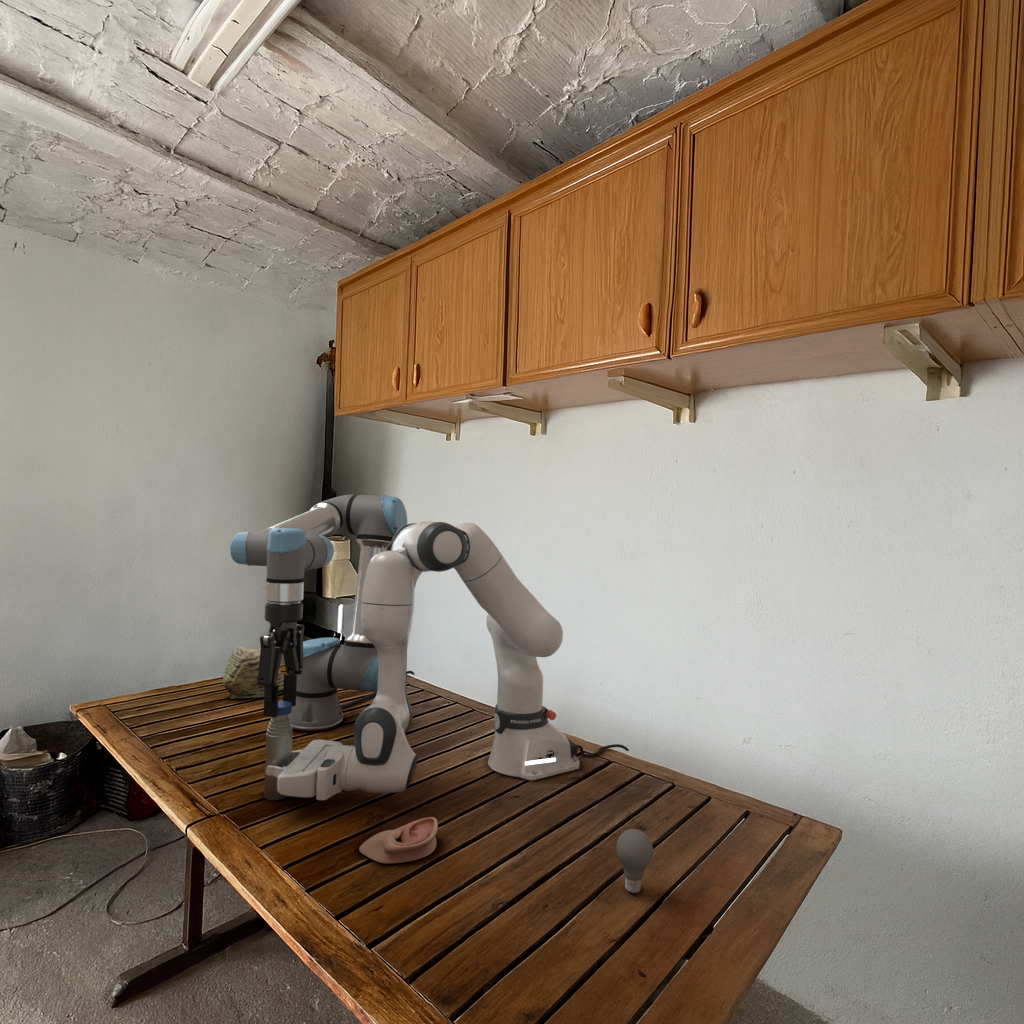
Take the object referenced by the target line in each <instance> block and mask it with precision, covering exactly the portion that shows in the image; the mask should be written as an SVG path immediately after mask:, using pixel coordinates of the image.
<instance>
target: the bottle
mask: <svg viewBox="0 0 1024 1024" xmlns="http://www.w3.org/2000/svg"><path fill="white" fill-rule="evenodd" d="M293 732H294V730H292V727H291V723H290V720H289V717H288V715H284V716H277V717H270V721H269V724H268V725H267V729H266V733H265V734H266V736H265V759H264V761H265V762H264V763H265V764H264V785H263V789H264V790H263V798H264V799H265V800H268V801H280V800H284V799H286V798H289V796H285V795H281V794H280V793H278V792H277V779H278V778H277V777H275V776H271V775H267V774H266V768H267V767H268V766H269V765H270V764H278V765H277V766H278V767H282V768H283V767H284V766H285V767H287V766H288V765H289V764H290V763H291V762H292V761H291V758H292V751H293Z"/></svg>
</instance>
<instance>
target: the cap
mask: <svg viewBox="0 0 1024 1024" xmlns="http://www.w3.org/2000/svg"><path fill="white" fill-rule="evenodd" d="M291 712H292V703H291V702H288V701H283V700H278V716H284V715H288V714H290V713H291Z"/></svg>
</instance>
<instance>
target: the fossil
mask: <svg viewBox="0 0 1024 1024" xmlns="http://www.w3.org/2000/svg"><path fill="white" fill-rule="evenodd" d="M260 650H261V647H258V648H251V647H247V646H246V647H245V646H238V647H237V648H236V649H235V650H233V651H232V653H231V656H230V657H229V659H228V660H227V663H226V666H225V668H224V671H223V675H222V676H223V677H222V685H223V687H224V688H225V690H226V691H228V693H229V698H230V699H250V698H264V685H259V684H258V672H259V661H260ZM283 682H284V674H283V673H282V672H281V669H279V673H278V678H277V682H276V685H279V693H278V695H281V694H283Z"/></svg>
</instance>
